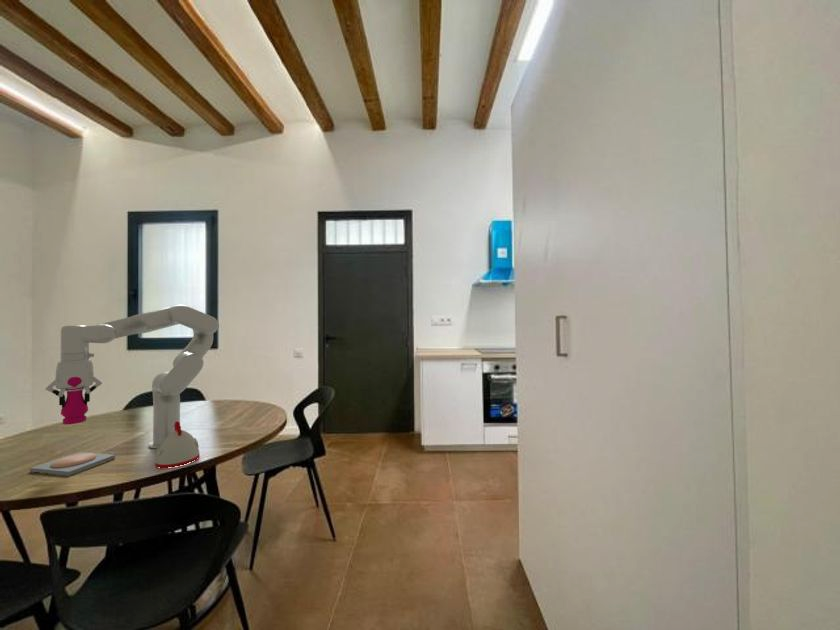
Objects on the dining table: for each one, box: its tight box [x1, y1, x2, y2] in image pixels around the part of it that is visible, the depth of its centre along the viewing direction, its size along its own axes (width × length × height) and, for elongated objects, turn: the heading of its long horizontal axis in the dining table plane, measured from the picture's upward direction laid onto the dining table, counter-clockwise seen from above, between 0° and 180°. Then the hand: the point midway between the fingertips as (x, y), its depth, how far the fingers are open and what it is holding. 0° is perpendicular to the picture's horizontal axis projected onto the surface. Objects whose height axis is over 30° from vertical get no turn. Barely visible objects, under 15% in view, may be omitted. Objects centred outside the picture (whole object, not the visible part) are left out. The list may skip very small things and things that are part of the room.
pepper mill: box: [60, 377, 89, 426], centre depth 127 cm, size 7×7×20 cm
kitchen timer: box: [155, 421, 200, 468], centre depth 130 cm, size 14×14×15 cm
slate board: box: [29, 451, 116, 477], centre depth 127 cm, size 18×15×2 cm
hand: (74, 404), depth 127 cm, fingers closed on pepper mill, 5 cm apart
